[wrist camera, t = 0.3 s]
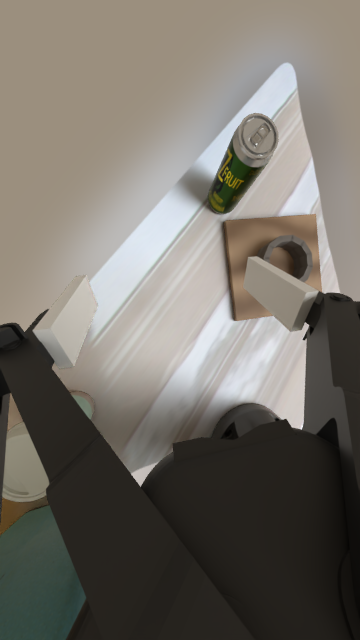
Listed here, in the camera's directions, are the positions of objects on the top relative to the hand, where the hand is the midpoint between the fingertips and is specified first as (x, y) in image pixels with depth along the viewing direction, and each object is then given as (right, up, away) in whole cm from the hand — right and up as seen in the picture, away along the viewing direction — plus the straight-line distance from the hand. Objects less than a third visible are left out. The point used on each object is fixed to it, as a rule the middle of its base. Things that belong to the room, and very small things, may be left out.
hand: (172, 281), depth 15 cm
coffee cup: (-17, -18, +16) cm, 30 cm away
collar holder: (+19, +7, +19) cm, 28 cm away
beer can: (+8, +18, +18) cm, 27 cm away
